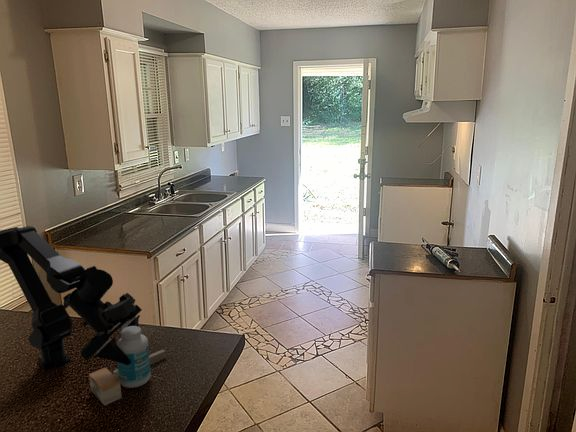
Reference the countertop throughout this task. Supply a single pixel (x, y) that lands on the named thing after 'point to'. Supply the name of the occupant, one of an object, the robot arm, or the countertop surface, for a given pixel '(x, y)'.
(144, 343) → the pill bottle
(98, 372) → the block
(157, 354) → the rail
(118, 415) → the countertop surface
